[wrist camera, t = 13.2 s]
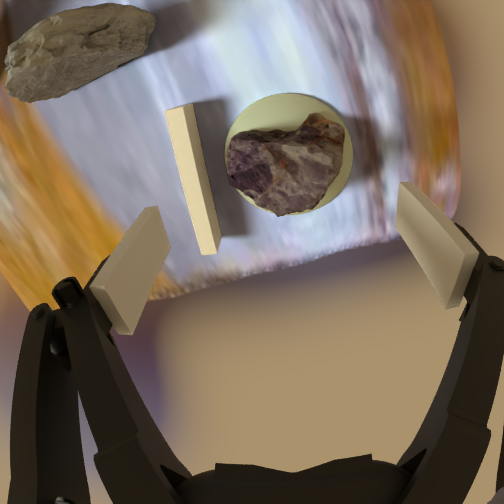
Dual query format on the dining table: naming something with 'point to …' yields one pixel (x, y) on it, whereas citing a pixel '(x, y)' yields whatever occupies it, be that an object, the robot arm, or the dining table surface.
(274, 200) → the rock
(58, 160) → the dining table surface
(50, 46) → the decorative rock
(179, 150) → the rail
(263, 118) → the felt pad
